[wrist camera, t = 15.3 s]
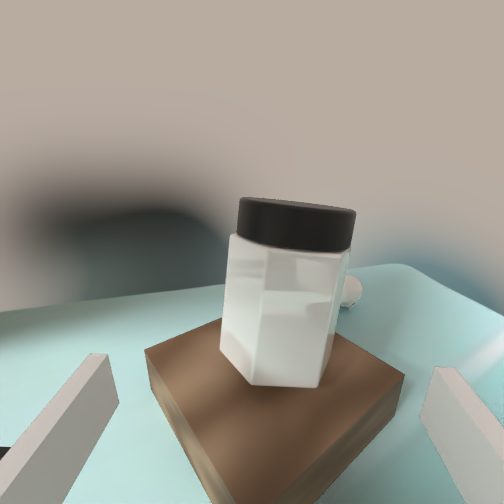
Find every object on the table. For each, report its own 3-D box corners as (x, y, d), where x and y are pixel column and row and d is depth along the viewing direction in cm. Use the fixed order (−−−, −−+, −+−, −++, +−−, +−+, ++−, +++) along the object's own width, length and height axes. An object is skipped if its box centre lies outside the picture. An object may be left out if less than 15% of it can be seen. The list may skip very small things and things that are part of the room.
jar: (315, 332, 27) (337, 206, 24) (349, 393, 19) (387, 215, 17) (221, 326, 26) (233, 194, 24) (216, 386, 18) (233, 199, 16)
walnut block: (151, 393, 26) (144, 349, 24) (273, 331, 35) (274, 295, 33) (249, 577, 15) (248, 524, 13) (392, 420, 24) (404, 374, 22)
